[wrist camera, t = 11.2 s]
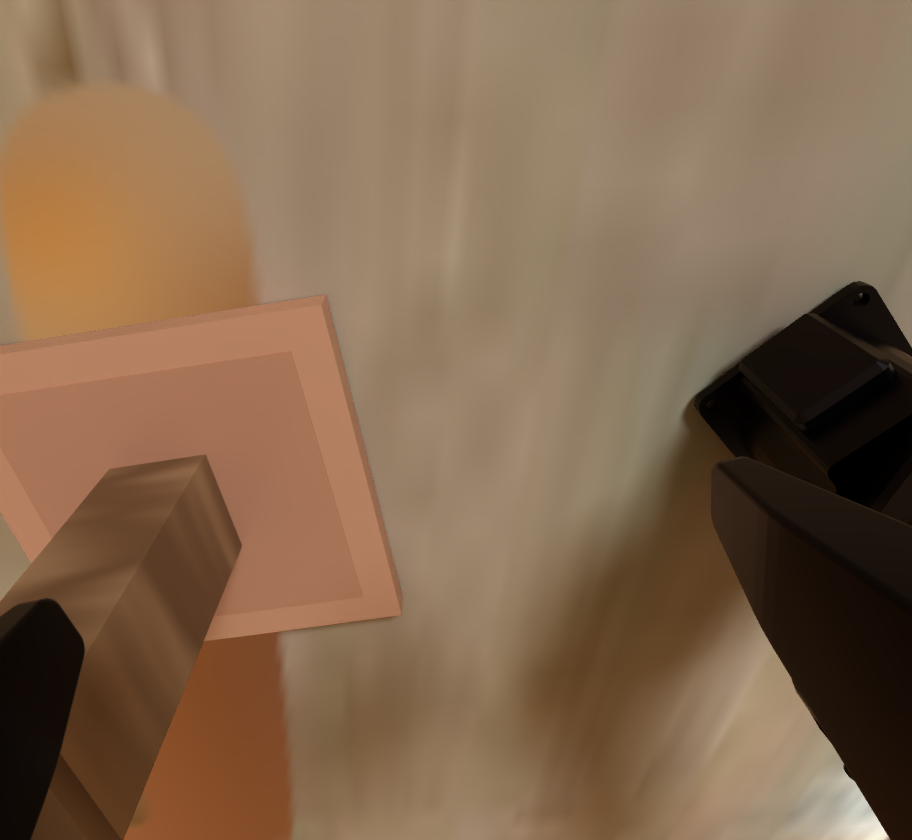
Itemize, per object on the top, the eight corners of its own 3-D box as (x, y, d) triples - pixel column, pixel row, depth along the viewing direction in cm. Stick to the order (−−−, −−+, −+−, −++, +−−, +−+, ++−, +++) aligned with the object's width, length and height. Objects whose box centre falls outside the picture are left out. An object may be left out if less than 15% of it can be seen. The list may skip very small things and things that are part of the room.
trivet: (325, 294, 20) (320, 305, 20) (402, 596, 27) (401, 616, 26) (-65, 355, 21) (-88, 368, 20) (98, 637, 27) (86, 658, 26)
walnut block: (205, 453, 22) (24, 757, 12) (242, 546, 24) (111, 871, 14) (108, 468, 22) (-147, 779, 12) (152, 559, 24) (-39, 890, 14)
